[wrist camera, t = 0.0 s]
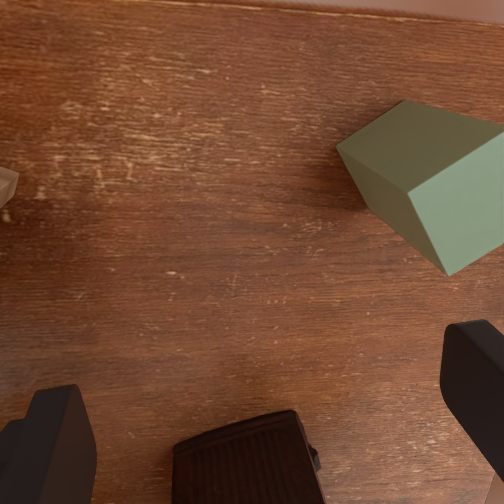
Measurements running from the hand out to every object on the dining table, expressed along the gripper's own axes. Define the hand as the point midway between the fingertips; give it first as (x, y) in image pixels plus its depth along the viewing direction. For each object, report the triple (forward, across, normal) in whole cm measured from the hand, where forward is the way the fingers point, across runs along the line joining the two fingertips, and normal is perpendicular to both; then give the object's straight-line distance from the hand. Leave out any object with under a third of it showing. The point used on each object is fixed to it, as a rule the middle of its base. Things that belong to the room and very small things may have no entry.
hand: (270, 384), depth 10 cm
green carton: (+20, -11, +1) cm, 23 cm away
